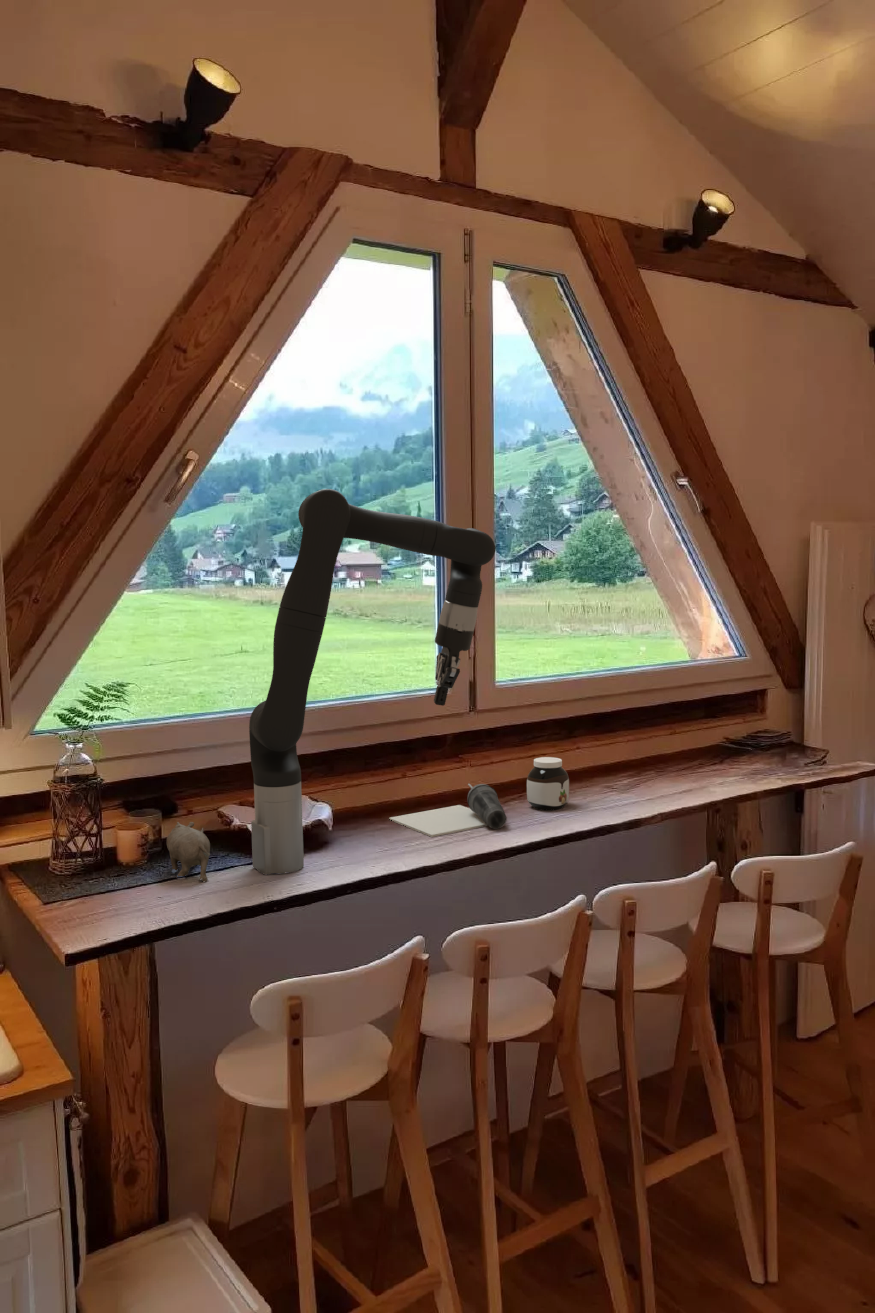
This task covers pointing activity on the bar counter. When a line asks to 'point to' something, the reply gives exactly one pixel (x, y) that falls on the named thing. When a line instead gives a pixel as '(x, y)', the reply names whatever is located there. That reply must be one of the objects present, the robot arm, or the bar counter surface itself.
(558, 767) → the spread jar
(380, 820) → the bar counter surface
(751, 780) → the bar counter surface
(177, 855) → the elephant figurine
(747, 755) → the bar counter surface
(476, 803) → the beverage cup
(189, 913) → the bar counter surface
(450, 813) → the white flat panel
